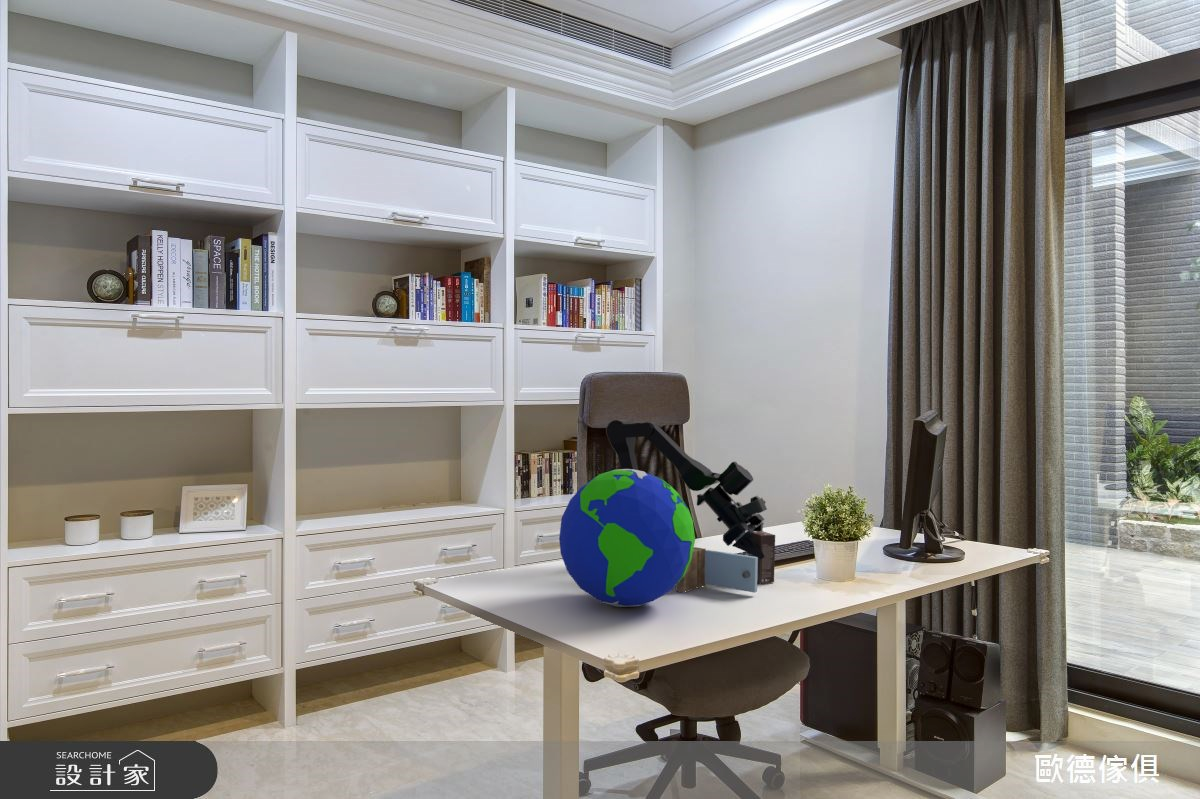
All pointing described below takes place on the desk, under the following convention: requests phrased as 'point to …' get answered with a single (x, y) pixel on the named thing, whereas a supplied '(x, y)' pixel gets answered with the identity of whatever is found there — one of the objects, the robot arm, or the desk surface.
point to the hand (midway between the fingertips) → (767, 555)
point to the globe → (626, 537)
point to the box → (767, 563)
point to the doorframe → (694, 572)
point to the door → (731, 570)
